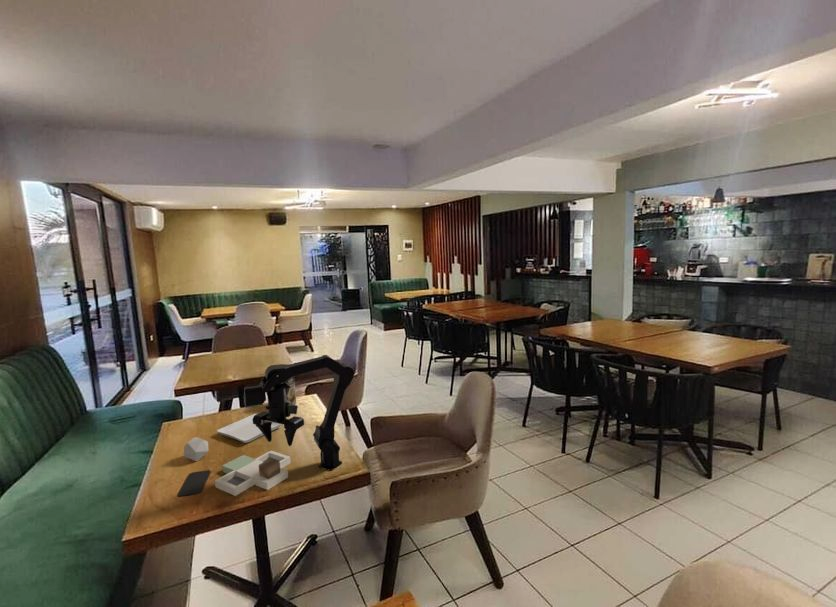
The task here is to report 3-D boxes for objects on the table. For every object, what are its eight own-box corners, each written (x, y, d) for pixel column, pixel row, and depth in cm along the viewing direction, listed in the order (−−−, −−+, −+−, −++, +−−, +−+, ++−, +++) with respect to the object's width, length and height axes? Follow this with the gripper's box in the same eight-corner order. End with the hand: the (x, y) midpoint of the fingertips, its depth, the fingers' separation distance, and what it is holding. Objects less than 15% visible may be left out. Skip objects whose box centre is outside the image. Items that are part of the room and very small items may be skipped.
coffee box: (288, 410, 210) (286, 380, 207) (277, 409, 211) (274, 379, 209) (297, 403, 218) (294, 374, 216) (286, 403, 220) (283, 374, 218)
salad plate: (245, 448, 171) (244, 440, 170) (215, 437, 182) (215, 429, 182) (285, 428, 189) (285, 421, 188) (256, 419, 200) (255, 413, 199)
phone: (176, 496, 137) (189, 472, 151) (176, 498, 137) (189, 474, 151) (200, 492, 138) (211, 469, 153) (200, 494, 138) (211, 471, 153)
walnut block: (280, 472, 145) (279, 461, 145) (268, 479, 141) (268, 468, 141) (271, 468, 148) (270, 458, 147) (259, 475, 144) (258, 465, 143)
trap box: (303, 467, 153) (303, 461, 153) (248, 502, 133) (248, 494, 132) (259, 452, 166) (259, 446, 165) (203, 481, 145) (202, 475, 145)
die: (214, 458, 164) (212, 433, 168) (198, 457, 156) (196, 431, 160) (196, 465, 164) (194, 440, 169) (178, 465, 156) (177, 439, 161)
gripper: (312, 396, 146) (315, 437, 148) (272, 391, 153) (275, 430, 155) (291, 408, 136) (295, 452, 138) (249, 401, 143) (253, 443, 145)
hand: (280, 443), depth 144 cm, fingers open, 9 cm apart
